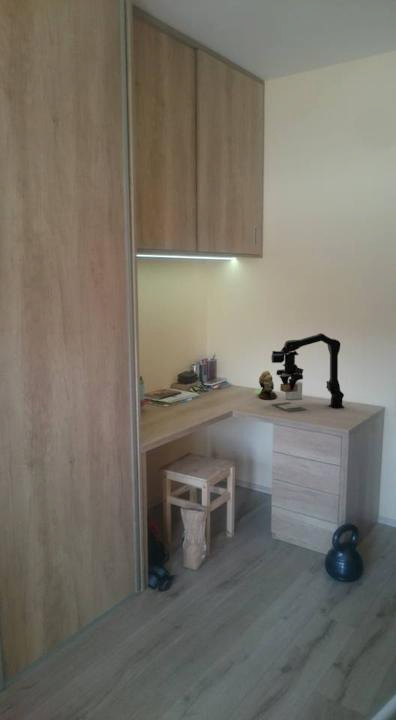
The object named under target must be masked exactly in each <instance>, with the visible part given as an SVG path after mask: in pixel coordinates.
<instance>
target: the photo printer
mask: <svg viewBox="0 0 396 720" xmlns="http://www.w3.org/2000/svg"><path fill="white" fill-rule="evenodd" d="M288 383H289V379H288ZM296 384H298V386H297V391H295V392H285V400H302V398H303V381H302V379H301V380H298V381H297V382H296Z"/></svg>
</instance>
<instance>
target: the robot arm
mask: <svg viewBox="0 0 396 720" xmlns="http://www.w3.org/2000/svg"><path fill="white" fill-rule="evenodd" d="M319 342H323V343H325V344H326V345H327V349H328V353H329V380H328V381H327V380H326V389H327V391H328V392H329V394H330V397H331V398H330V404H328V407H330V408H331V407H332V408H335V409H339V408H340V409H341V408H345V405H343V400H344V399H343V398H344V397H345V393H344V392H343V391H342V390H341V385H340V382H339V379H338V378H339V377H338V374H339V372H338V371H339V370H338V368H339V361H338V360H339V354H340V349H341V341H339V340H338V339H335V338H331V337H329V336H326V335H325V334H324V333H318V334H315V335H314V334H313V335H311V336H307V337H304V338H301V339H291V340H290V339H289V340H286V341H285V343H284V346H283V347H282V349H281V350H277V351H276V350H272V353H271V359H270V360H271V363H272V364H279V363H281V364H282V363H283V362H284V363H283V365H282V366H283V367H284V369H277V370H276V373H275V374H276V376H278V377H279V379H280V380H281V382H282V384H285V383H288V380H289V383H290V388H291V390H293V389H294V386H295V384H296V382H297V381H298V380H301V381H302V380H304V375H303V374H304V369H303V368H300V367H298V365H297V364H296V356H299V353H298V352H297V350H298V349H301V348H302V347H305V346H308V345H311V344H314V343H319Z"/></svg>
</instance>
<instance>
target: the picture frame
mask: <svg viewBox="0 0 396 720" xmlns="http://www.w3.org/2000/svg"><path fill="white" fill-rule="evenodd" d="M271 406H273V407H276V408H278V409H280V410H283V411H285V412H288V413H293V412H299V411H305V410H307V408H305V407H303V406H300V405H298V404H295V403H291V402H290V401H286V402H277V403H271Z"/></svg>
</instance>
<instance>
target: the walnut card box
mask: <svg viewBox="0 0 396 720" xmlns="http://www.w3.org/2000/svg"><path fill="white" fill-rule="evenodd" d="M297 386H298V384H295V386H294V389H293V390H291V388H290V383H285V384H283V383H280V389H279V390H280V392H283V393H286V392H295V391H297Z"/></svg>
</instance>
